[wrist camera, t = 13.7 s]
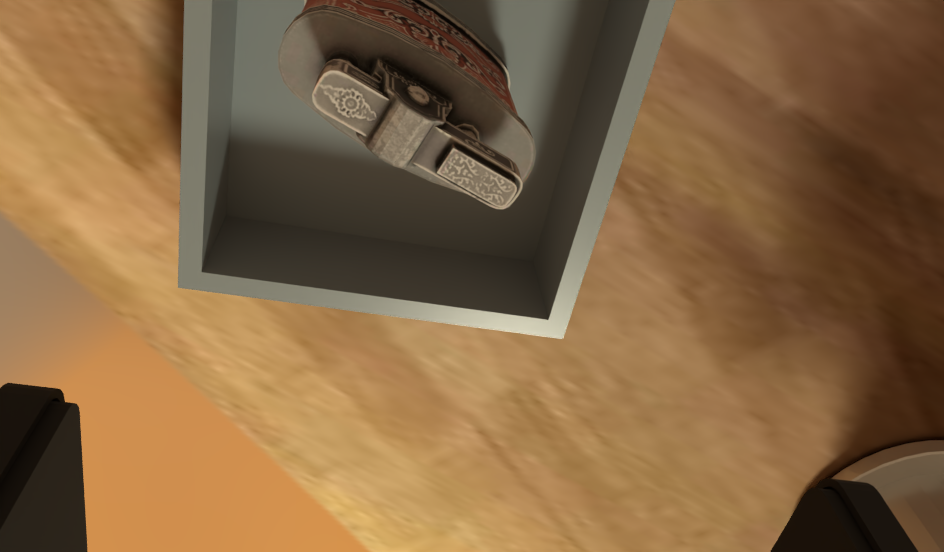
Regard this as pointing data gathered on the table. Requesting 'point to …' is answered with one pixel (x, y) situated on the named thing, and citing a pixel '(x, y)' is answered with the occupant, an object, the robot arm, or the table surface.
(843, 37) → the table surface
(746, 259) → the table surface
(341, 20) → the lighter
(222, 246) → the bin
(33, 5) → the table surface
